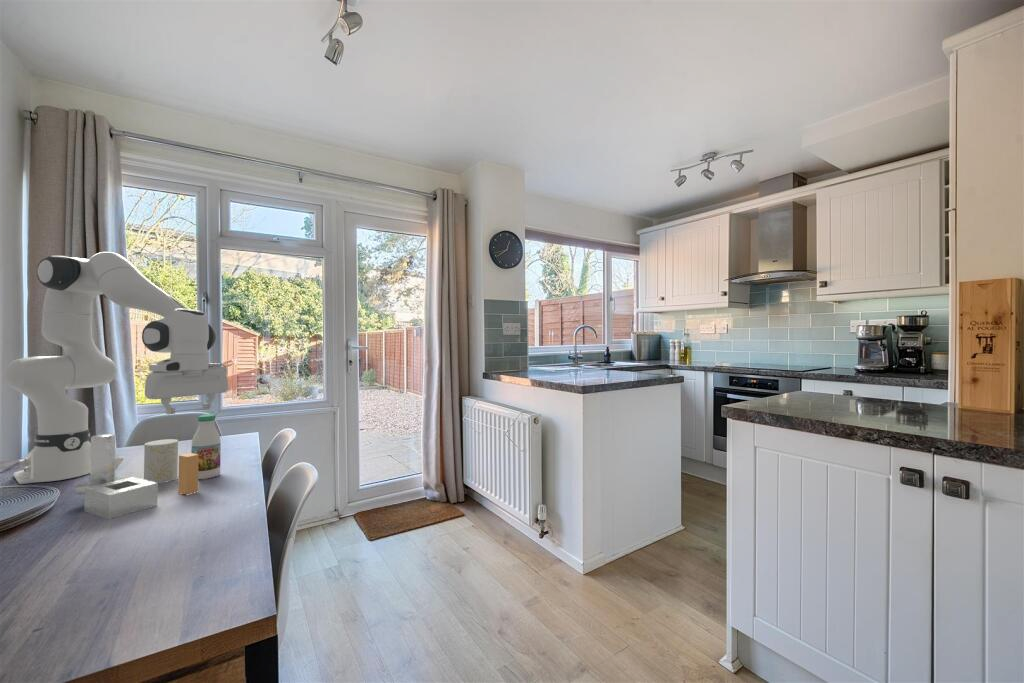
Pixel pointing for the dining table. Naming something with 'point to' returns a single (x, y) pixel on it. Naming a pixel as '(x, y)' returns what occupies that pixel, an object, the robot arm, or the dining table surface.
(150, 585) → the dining table surface
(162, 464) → the cup
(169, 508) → the dining table surface
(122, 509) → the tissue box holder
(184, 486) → the tan wooden block
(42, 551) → the dining table surface
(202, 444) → the milk bottle
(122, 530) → the dining table surface
